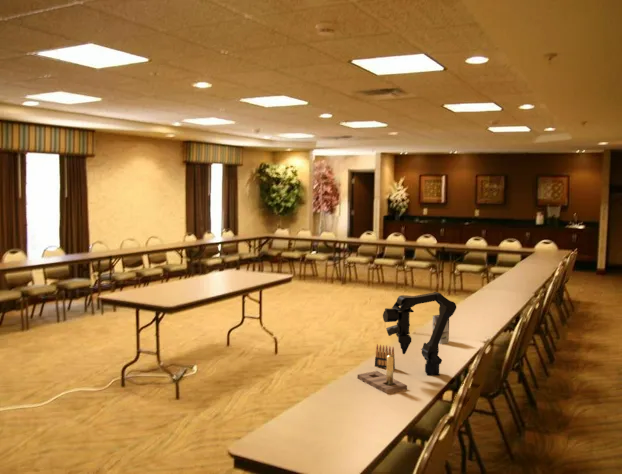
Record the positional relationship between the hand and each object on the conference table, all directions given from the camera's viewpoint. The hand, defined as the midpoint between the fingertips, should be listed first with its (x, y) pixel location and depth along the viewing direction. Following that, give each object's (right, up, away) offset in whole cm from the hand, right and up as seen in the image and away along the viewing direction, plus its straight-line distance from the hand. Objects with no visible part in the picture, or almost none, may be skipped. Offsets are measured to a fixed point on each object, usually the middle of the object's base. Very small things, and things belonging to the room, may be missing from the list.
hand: (402, 351), depth 283 cm
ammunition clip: (-7, -12, +16) cm, 21 cm away
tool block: (-12, -14, -10) cm, 21 cm away
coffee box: (+34, -8, +67) cm, 76 cm away
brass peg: (-9, -14, -15) cm, 23 cm away
